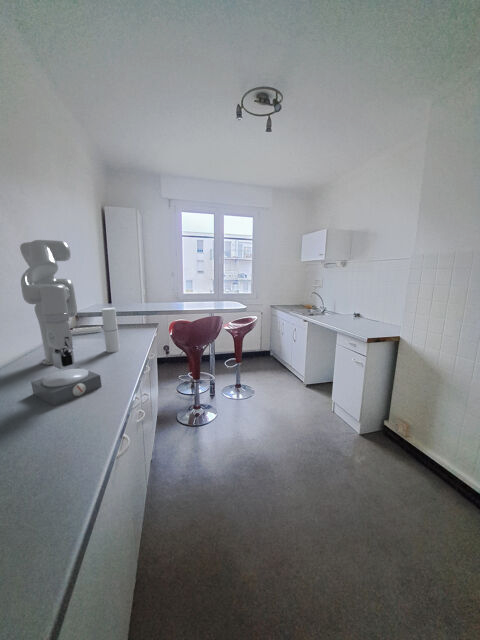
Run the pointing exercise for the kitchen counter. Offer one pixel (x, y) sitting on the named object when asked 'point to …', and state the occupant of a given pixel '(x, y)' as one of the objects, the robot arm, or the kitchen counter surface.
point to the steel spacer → (60, 359)
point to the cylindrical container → (110, 329)
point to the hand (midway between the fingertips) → (64, 363)
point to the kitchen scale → (65, 385)
